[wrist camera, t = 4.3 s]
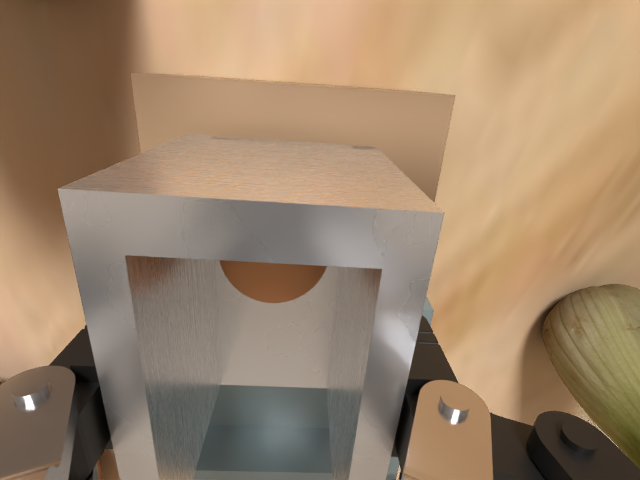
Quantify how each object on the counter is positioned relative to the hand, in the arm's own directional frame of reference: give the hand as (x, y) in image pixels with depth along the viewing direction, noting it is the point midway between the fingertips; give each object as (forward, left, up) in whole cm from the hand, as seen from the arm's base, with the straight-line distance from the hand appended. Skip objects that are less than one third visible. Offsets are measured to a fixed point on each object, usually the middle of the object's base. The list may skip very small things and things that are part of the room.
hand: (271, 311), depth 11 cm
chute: (0, 0, -2) cm, 2 cm away
